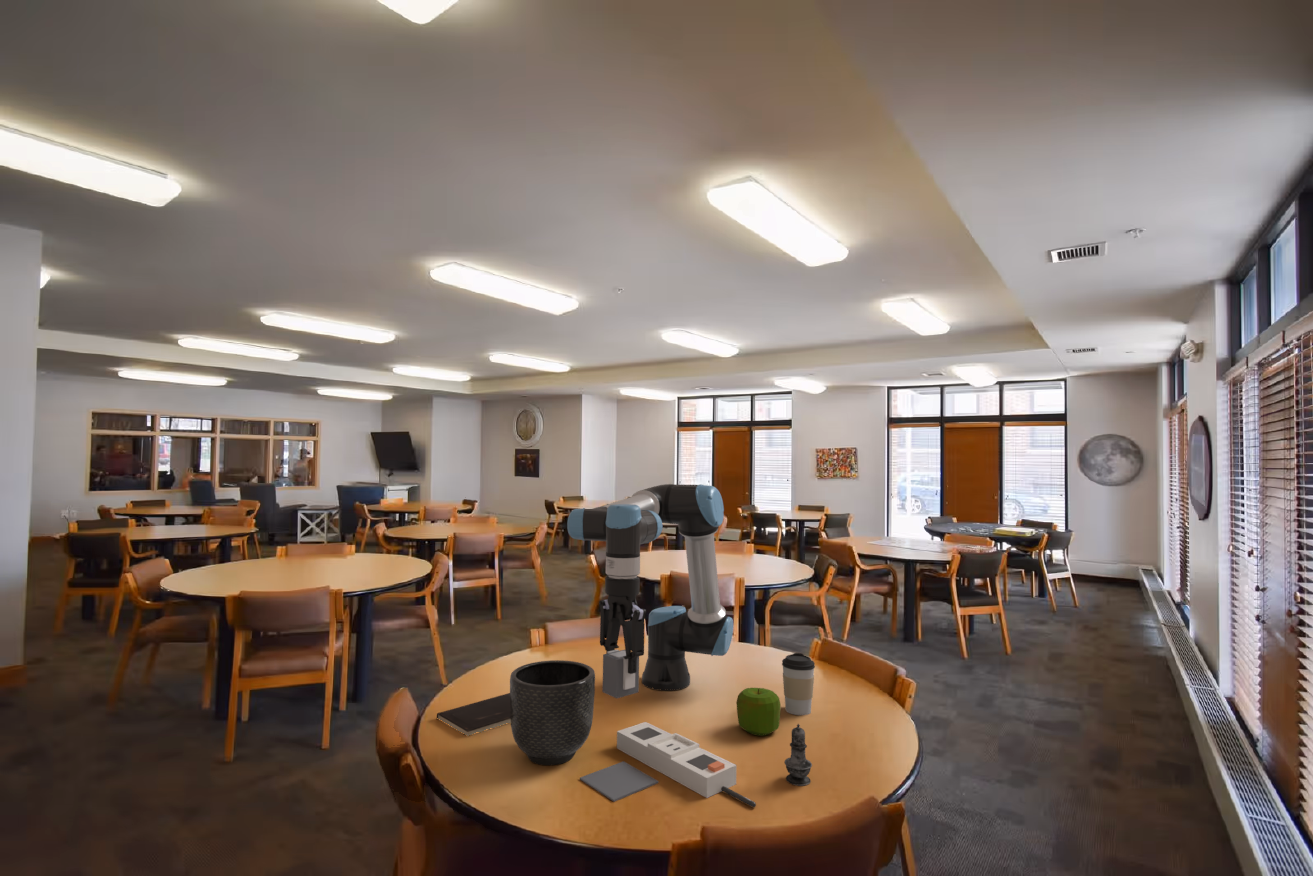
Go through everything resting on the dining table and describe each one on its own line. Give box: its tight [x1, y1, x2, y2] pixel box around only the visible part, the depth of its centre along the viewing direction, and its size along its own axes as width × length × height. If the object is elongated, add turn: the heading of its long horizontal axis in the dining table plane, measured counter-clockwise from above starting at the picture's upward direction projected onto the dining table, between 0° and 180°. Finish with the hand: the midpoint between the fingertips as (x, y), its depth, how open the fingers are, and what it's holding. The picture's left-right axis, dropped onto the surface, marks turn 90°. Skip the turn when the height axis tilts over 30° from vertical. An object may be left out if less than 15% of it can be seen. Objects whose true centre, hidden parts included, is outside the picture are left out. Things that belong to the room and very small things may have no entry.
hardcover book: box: [436, 692, 511, 737], centre depth 172 cm, size 16×23×2 cm
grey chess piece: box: [784, 723, 813, 787], centre depth 139 cm, size 6×6×12 cm
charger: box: [601, 649, 640, 699], centre depth 138 cm, size 5×6×8 cm
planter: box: [509, 659, 596, 766], centre depth 149 cm, size 20×20×19 cm
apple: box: [735, 687, 782, 737], centre depth 165 cm, size 11×11×11 cm
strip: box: [616, 721, 757, 808], centre depth 142 cm, size 39×9×5 cm, turn 41°
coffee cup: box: [781, 652, 816, 716], centre depth 179 cm, size 9×9×15 cm
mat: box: [579, 761, 659, 803], centre depth 137 cm, size 12×12×1 cm
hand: (620, 684), depth 138 cm, fingers closed on charger, 5 cm apart
